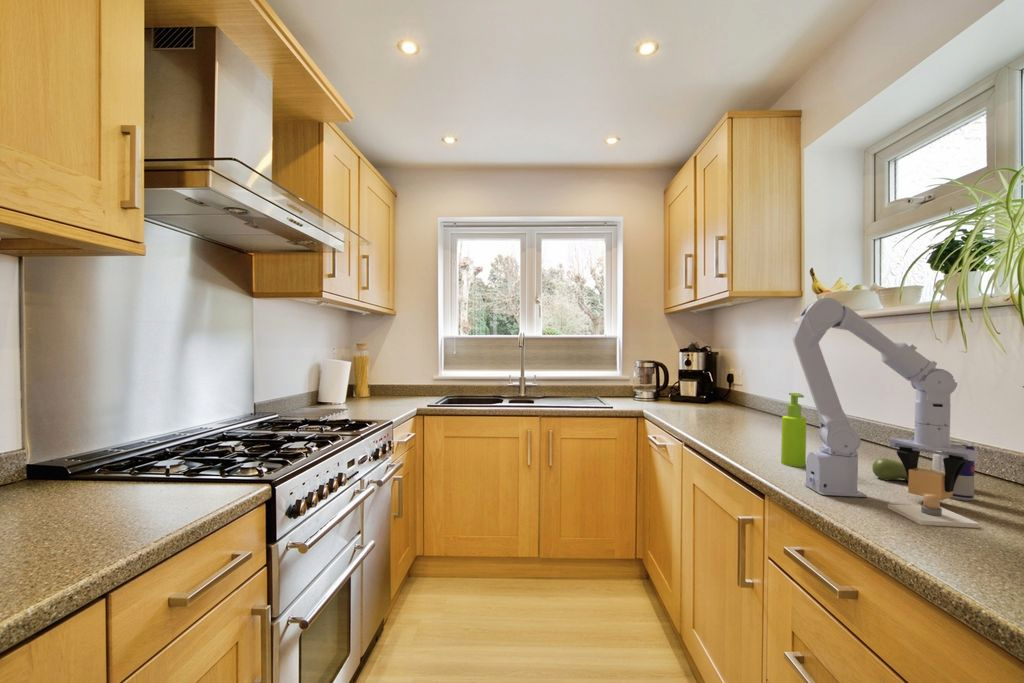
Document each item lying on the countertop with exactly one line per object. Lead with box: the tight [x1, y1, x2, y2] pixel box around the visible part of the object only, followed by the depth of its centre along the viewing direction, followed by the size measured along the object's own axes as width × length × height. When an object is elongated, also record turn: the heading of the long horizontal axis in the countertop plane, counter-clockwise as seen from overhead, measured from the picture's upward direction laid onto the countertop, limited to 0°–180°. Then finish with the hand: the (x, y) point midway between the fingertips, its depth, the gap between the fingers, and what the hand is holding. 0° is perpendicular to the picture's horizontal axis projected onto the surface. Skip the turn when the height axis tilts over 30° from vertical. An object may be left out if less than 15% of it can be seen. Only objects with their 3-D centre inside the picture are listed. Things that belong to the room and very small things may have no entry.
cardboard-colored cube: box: [907, 466, 953, 501], centre depth 102 cm, size 6×6×5 cm
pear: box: [871, 457, 909, 482], centre depth 120 cm, size 6×5×10 cm
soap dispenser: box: [780, 392, 807, 468], centre depth 134 cm, size 6×7×20 cm
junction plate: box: [887, 494, 980, 529], centre depth 93 cm, size 10×9×4 cm
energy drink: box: [942, 440, 976, 502], centre depth 106 cm, size 5×5×12 cm
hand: (930, 487), depth 102 cm, fingers closed on cardboard-colored cube, 6 cm apart
